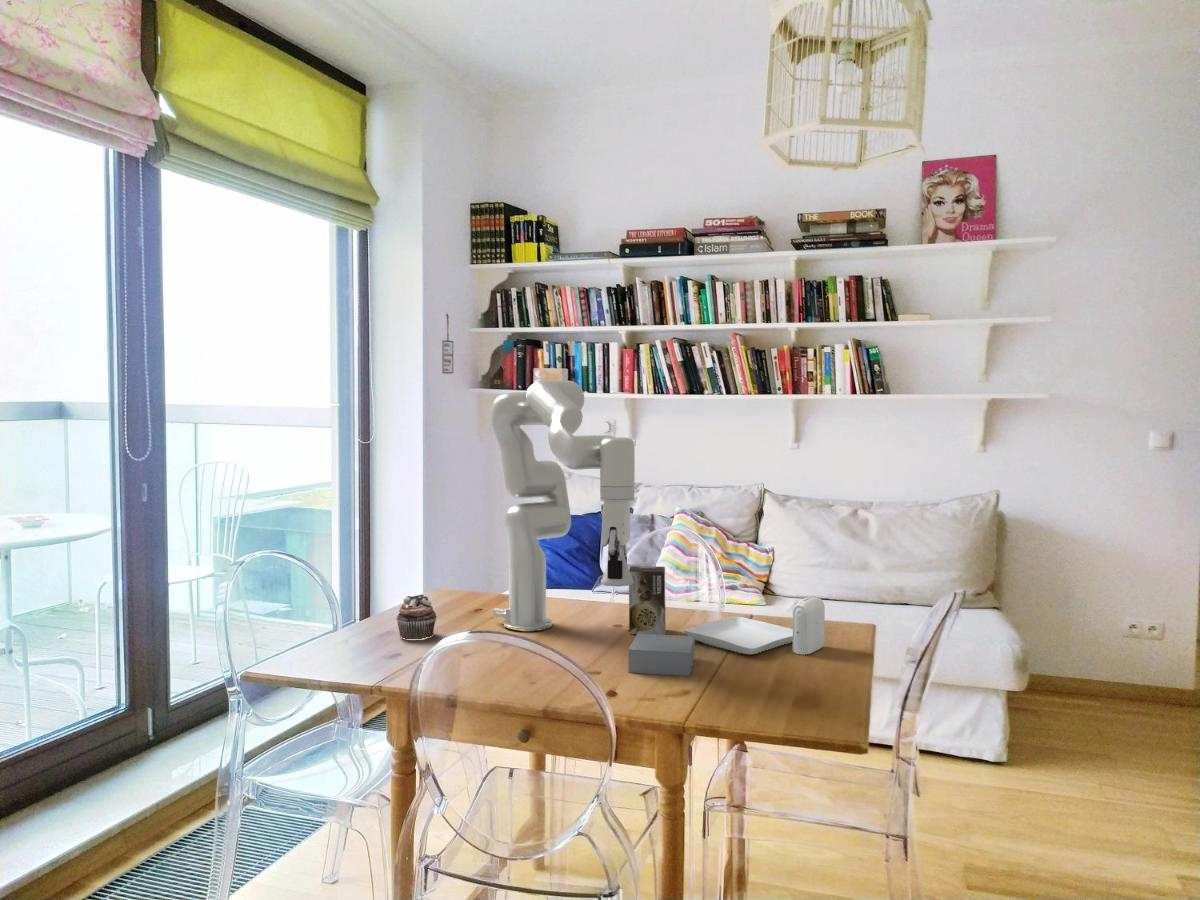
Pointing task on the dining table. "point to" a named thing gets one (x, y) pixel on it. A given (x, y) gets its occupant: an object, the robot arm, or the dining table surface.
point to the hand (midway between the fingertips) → (617, 575)
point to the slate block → (662, 654)
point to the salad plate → (741, 635)
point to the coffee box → (647, 600)
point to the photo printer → (808, 625)
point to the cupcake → (416, 618)
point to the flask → (625, 579)
